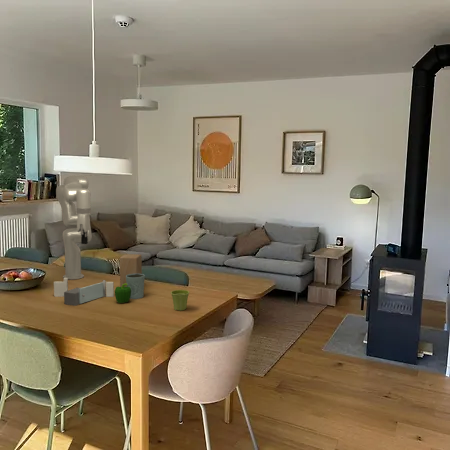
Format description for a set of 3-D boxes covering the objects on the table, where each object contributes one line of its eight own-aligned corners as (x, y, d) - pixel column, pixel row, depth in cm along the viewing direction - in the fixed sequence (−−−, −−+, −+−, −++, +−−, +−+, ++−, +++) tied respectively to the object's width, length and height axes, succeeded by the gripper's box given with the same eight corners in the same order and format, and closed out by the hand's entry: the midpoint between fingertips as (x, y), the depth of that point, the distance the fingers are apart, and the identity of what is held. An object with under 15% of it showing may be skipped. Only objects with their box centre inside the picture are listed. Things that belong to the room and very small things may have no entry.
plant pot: (168, 307, 227) (168, 290, 226) (186, 305, 231) (186, 288, 229) (173, 312, 218) (173, 295, 217) (191, 310, 222) (191, 293, 221)
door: (102, 296, 244) (101, 282, 243) (105, 296, 242) (105, 282, 241) (79, 303, 230) (78, 288, 229) (82, 304, 229) (82, 289, 228)
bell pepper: (111, 303, 233) (110, 284, 232) (121, 298, 240) (120, 280, 239) (124, 305, 229) (123, 286, 228) (134, 301, 237) (133, 282, 235)
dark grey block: (64, 304, 230) (63, 292, 229) (77, 299, 239) (77, 287, 238) (75, 306, 228) (74, 293, 227) (88, 300, 237) (87, 288, 236)
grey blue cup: (126, 299, 239) (125, 277, 237) (126, 294, 249) (125, 273, 247) (145, 298, 241) (145, 277, 239) (144, 293, 251) (144, 272, 249)
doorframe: (55, 295, 245) (54, 277, 243) (113, 296, 245) (113, 278, 244) (54, 296, 243) (53, 278, 242) (113, 296, 244) (112, 279, 242)
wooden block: (142, 287, 263) (141, 254, 260) (137, 292, 253) (136, 257, 251) (125, 287, 264) (125, 253, 261) (120, 291, 254) (119, 257, 252)
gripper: (80, 210, 258) (81, 241, 260) (72, 212, 243) (73, 246, 245) (94, 210, 258) (94, 241, 260) (86, 212, 243) (87, 246, 245)
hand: (84, 243), depth 253 cm, fingers closed
